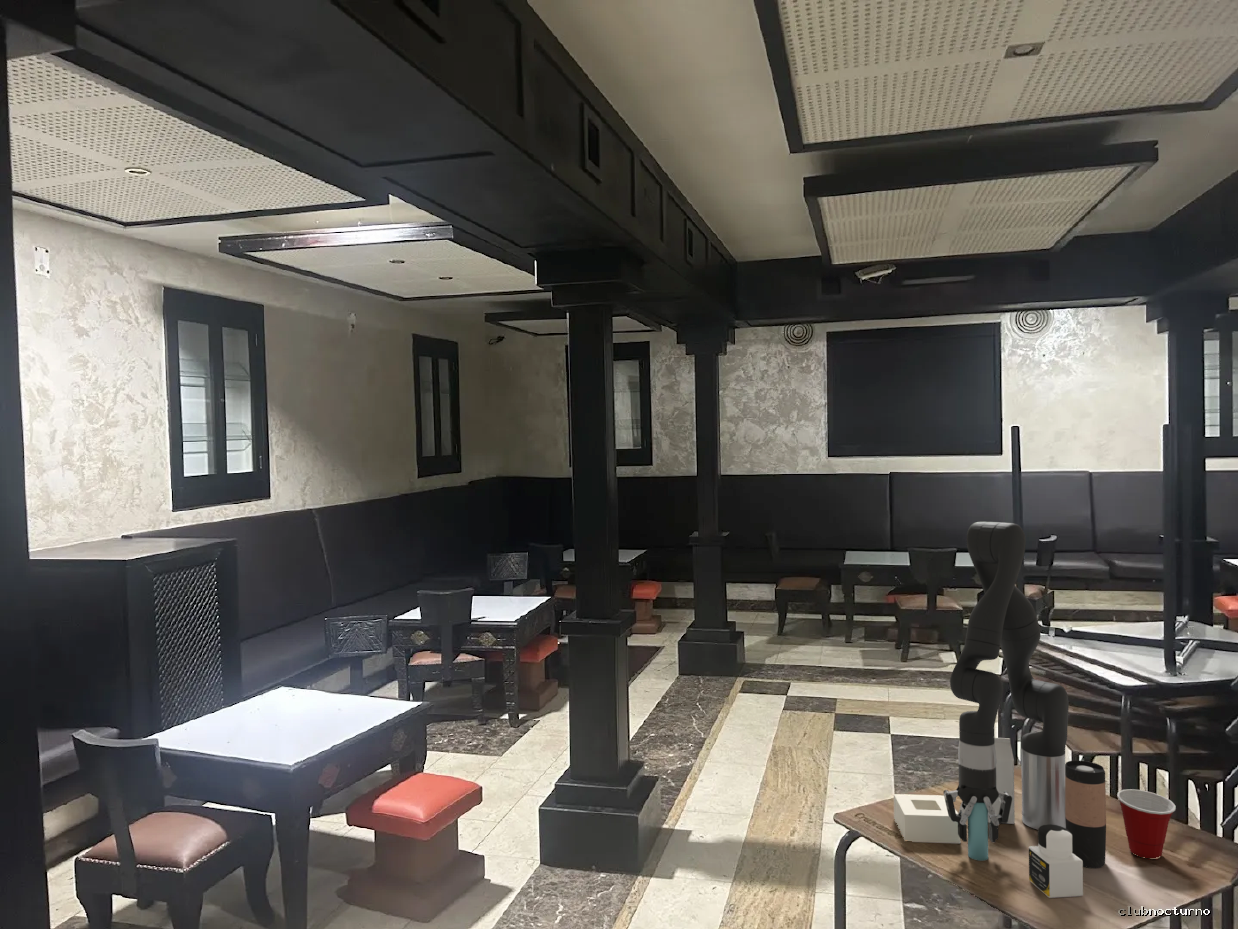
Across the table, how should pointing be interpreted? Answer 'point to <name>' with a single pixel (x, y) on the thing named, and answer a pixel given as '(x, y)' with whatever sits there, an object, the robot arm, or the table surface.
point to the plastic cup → (1145, 821)
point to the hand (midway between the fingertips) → (977, 840)
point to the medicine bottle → (1055, 863)
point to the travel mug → (1086, 811)
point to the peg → (978, 832)
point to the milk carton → (1004, 774)
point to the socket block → (925, 819)
